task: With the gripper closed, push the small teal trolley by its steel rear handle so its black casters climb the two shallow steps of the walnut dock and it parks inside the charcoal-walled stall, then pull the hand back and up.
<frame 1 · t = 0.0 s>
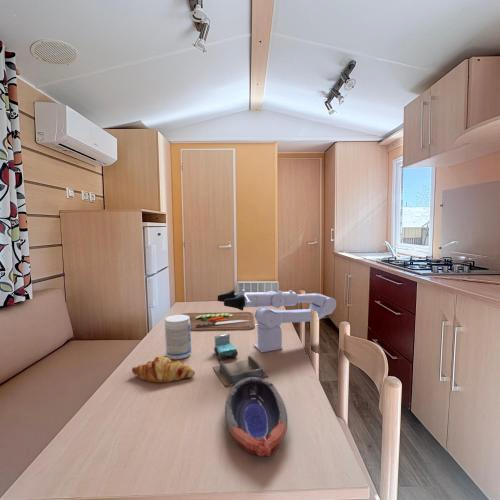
hand: (220, 300, 115), 22 cm above the table, tool horizontal, fingers open, 7 cm apart
dock bay: (239, 371, 104), on the table
chopping board: (215, 322, 158), on the table
trolley: (225, 355, 118), on the table
dish: (255, 423, 78), on the table
supplement tub: (178, 355, 118), on the table
croissant: (163, 378, 101), on the table
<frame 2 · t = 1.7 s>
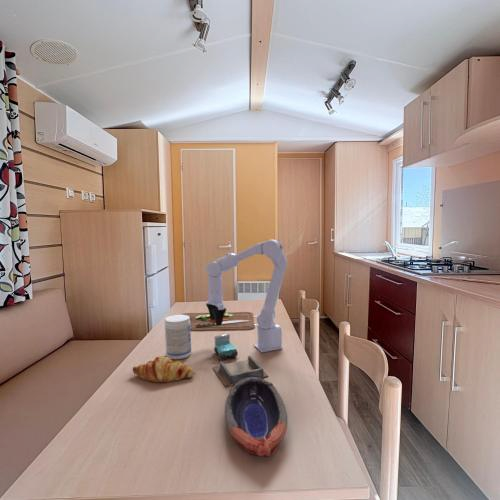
hand: (216, 322, 128), 9 cm above the table, tool pointing down, fingers open, 7 cm apart
nothing on the table moved.
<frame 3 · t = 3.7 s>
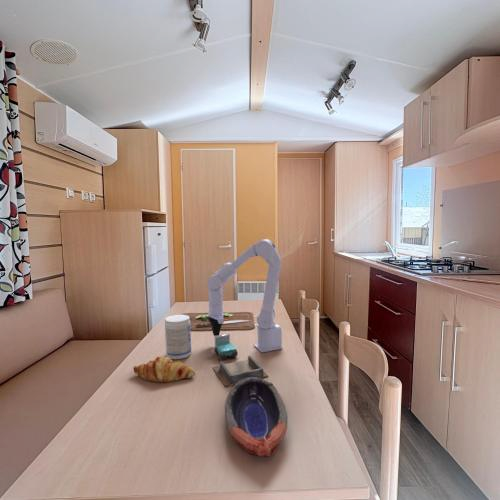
hand: (216, 335, 128), 4 cm above the table, tool pointing down, fingers closed
nothing on the table moved.
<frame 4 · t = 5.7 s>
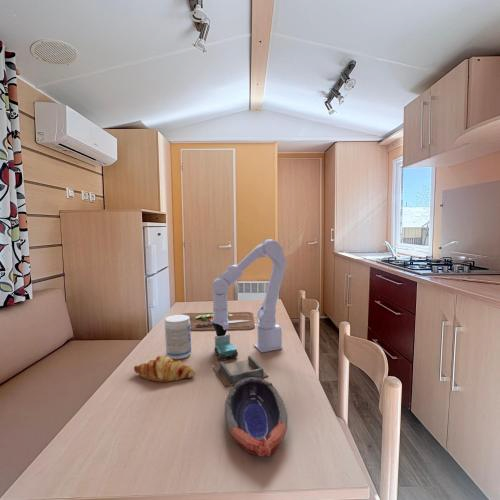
hand: (221, 341, 122), 3 cm above the table, tool pointing down, fingers closed
trolley: (225, 355, 117), on the table, touching gripper
everything else where it was.
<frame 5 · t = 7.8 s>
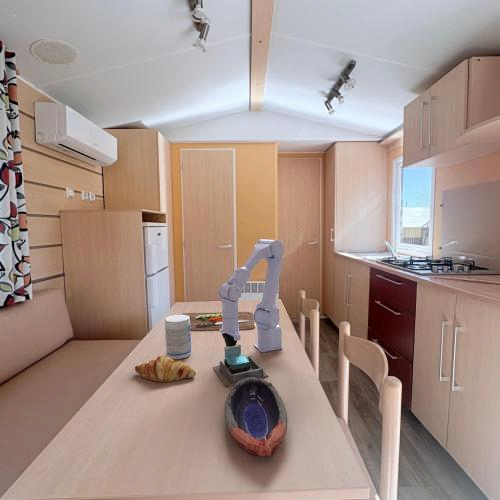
hand: (230, 352, 112), 3 cm above the table, tool pointing down, fingers closed
trolley: (236, 368, 106), resting on dock bay
everything else where it was.
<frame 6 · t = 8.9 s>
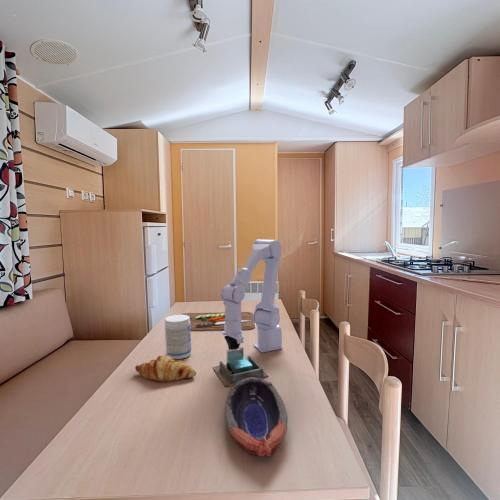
hand: (233, 355, 109), 3 cm above the table, tool pointing down, fingers closed
trolley: (239, 371, 103), resting on dock bay, touching gripper
everything else where it was.
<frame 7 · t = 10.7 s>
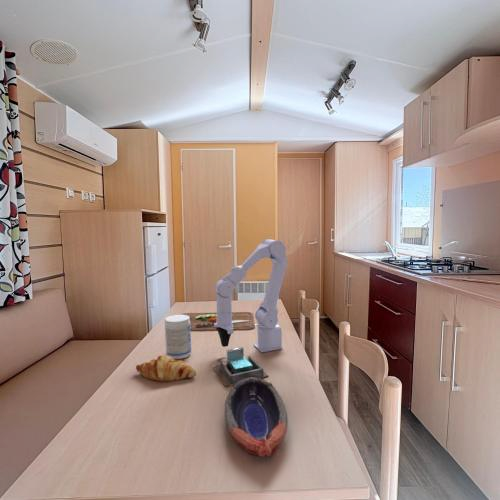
hand: (224, 345, 118), 3 cm above the table, tool pointing down, fingers closed
trolley: (239, 371, 103), resting on dock bay
everything else where it was.
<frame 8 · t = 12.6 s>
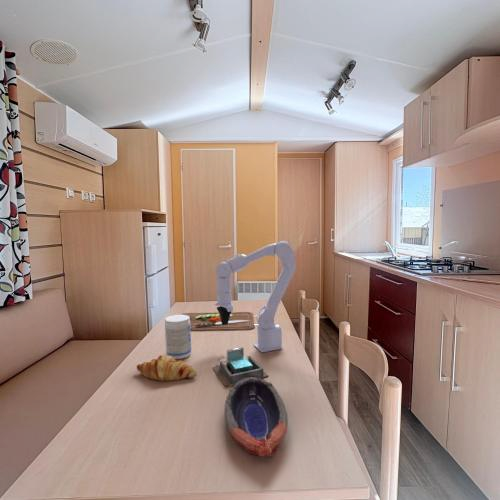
hand: (224, 324, 125), 9 cm above the table, tool pointing down, fingers closed
at the end: trolley 0.3 cm off-centre on the dock bay, point 0.4 cm above the dock bay's base; trolley tilted 0°; the gripper is holding nothing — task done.
